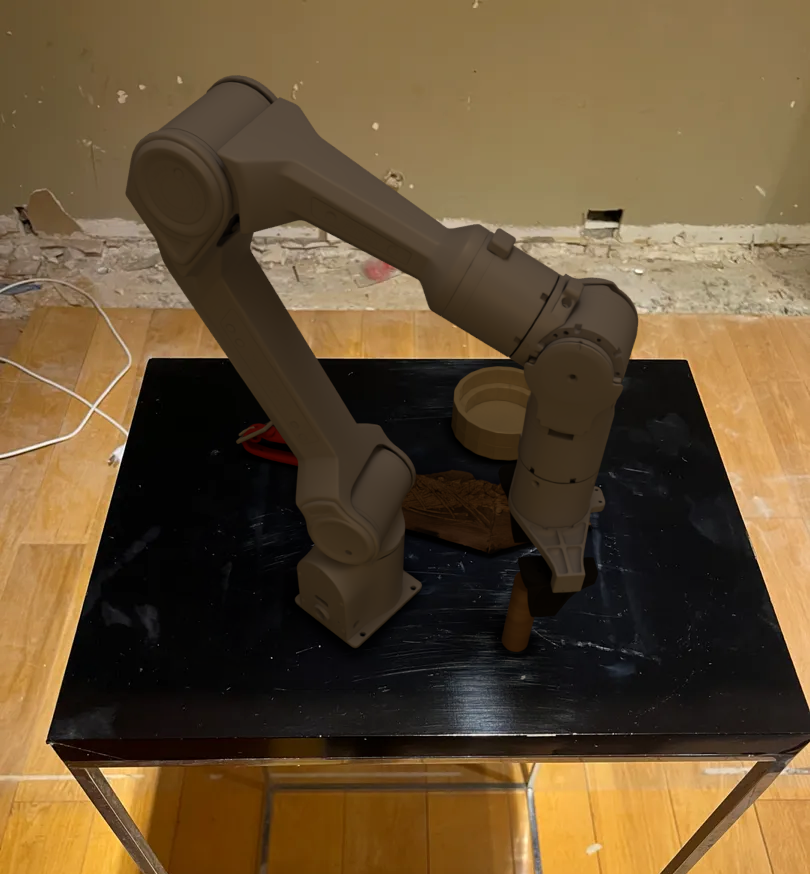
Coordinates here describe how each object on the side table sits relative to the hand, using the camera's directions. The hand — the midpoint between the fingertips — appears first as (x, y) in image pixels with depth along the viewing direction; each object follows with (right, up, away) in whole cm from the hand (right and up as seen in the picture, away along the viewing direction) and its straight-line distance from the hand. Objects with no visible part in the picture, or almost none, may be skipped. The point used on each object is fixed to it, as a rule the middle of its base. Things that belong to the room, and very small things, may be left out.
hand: (533, 574), depth 68 cm
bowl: (0, +15, +26) cm, 30 cm away
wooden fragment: (-4, +5, +17) cm, 18 cm away
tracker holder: (-22, +13, +23) cm, 35 cm away
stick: (-1, -6, +7) cm, 10 cm away
